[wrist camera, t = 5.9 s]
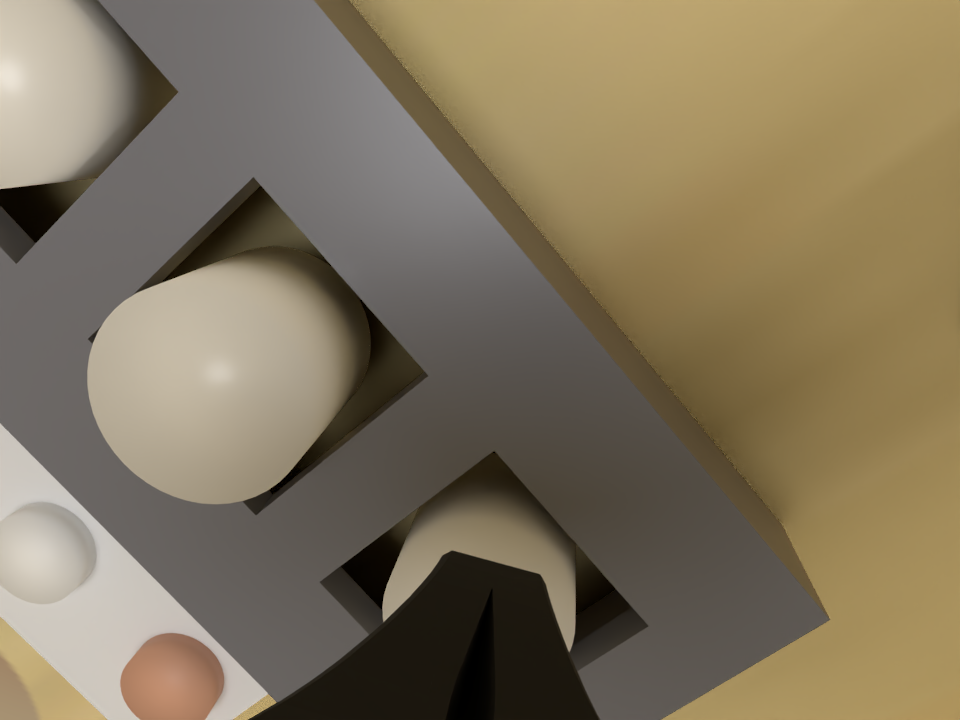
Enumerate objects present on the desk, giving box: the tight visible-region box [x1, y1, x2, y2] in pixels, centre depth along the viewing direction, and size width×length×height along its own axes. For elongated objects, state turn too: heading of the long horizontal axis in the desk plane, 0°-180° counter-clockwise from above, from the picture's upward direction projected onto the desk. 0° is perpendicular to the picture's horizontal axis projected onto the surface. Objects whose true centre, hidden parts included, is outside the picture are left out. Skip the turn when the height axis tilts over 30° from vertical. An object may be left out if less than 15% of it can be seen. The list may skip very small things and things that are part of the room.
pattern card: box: [0, 424, 268, 720], centre depth 22 cm, size 14×6×2 cm, turn 41°
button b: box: [87, 246, 371, 504], centre depth 16 cm, size 4×4×4 cm
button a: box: [382, 453, 576, 652], centre depth 18 cm, size 4×4×4 cm
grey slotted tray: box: [0, 0, 830, 720], centre depth 18 cm, size 23×11×4 cm, turn 41°
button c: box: [0, 0, 178, 189], centre depth 16 cm, size 4×4×4 cm
